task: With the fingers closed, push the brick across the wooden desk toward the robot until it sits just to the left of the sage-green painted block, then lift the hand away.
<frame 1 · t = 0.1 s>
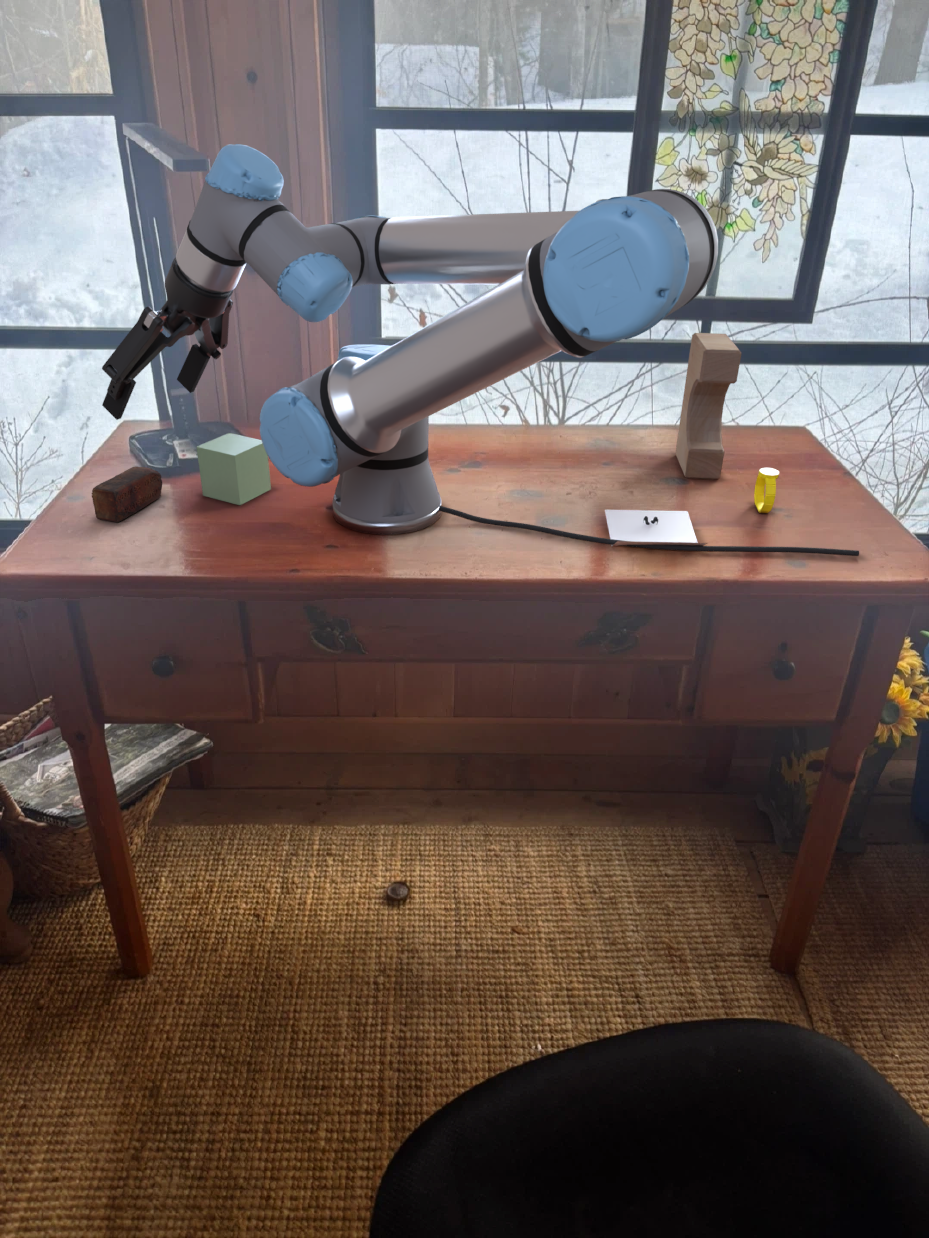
hand: (149, 398, 123), 15 cm above the table, tool tilted 35°, fingers open, 13 cm apart
watch: (761, 510, 133), on the table
green block: (237, 492, 135), on the table
brick: (131, 509, 129), on the table
decorative block: (696, 468, 148), on the table
folded paper: (651, 537, 125), on the table
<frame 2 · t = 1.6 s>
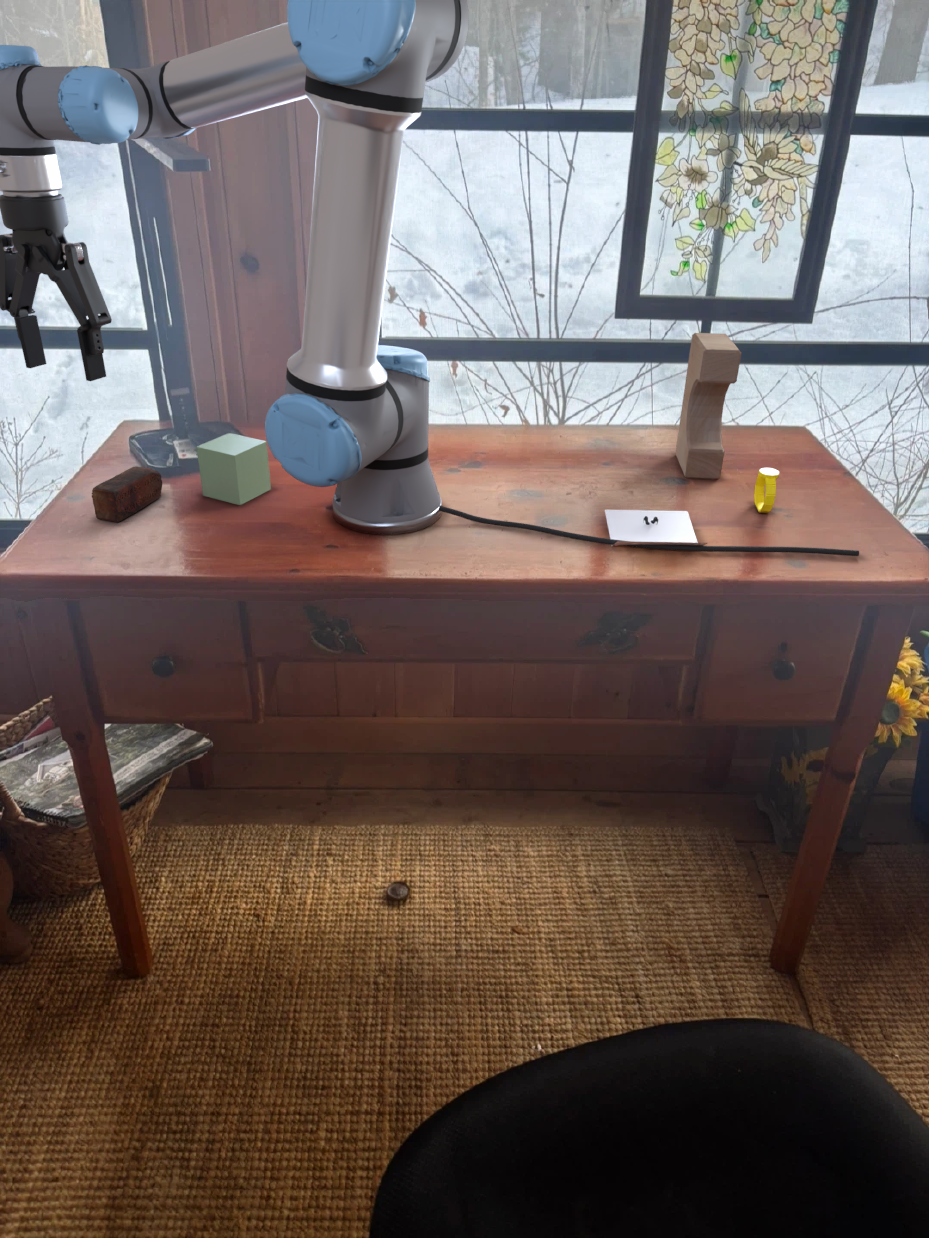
hand: (66, 372, 123), 18 cm above the table, tool pointing down, fingers open, 11 cm apart
nothing on the table moved.
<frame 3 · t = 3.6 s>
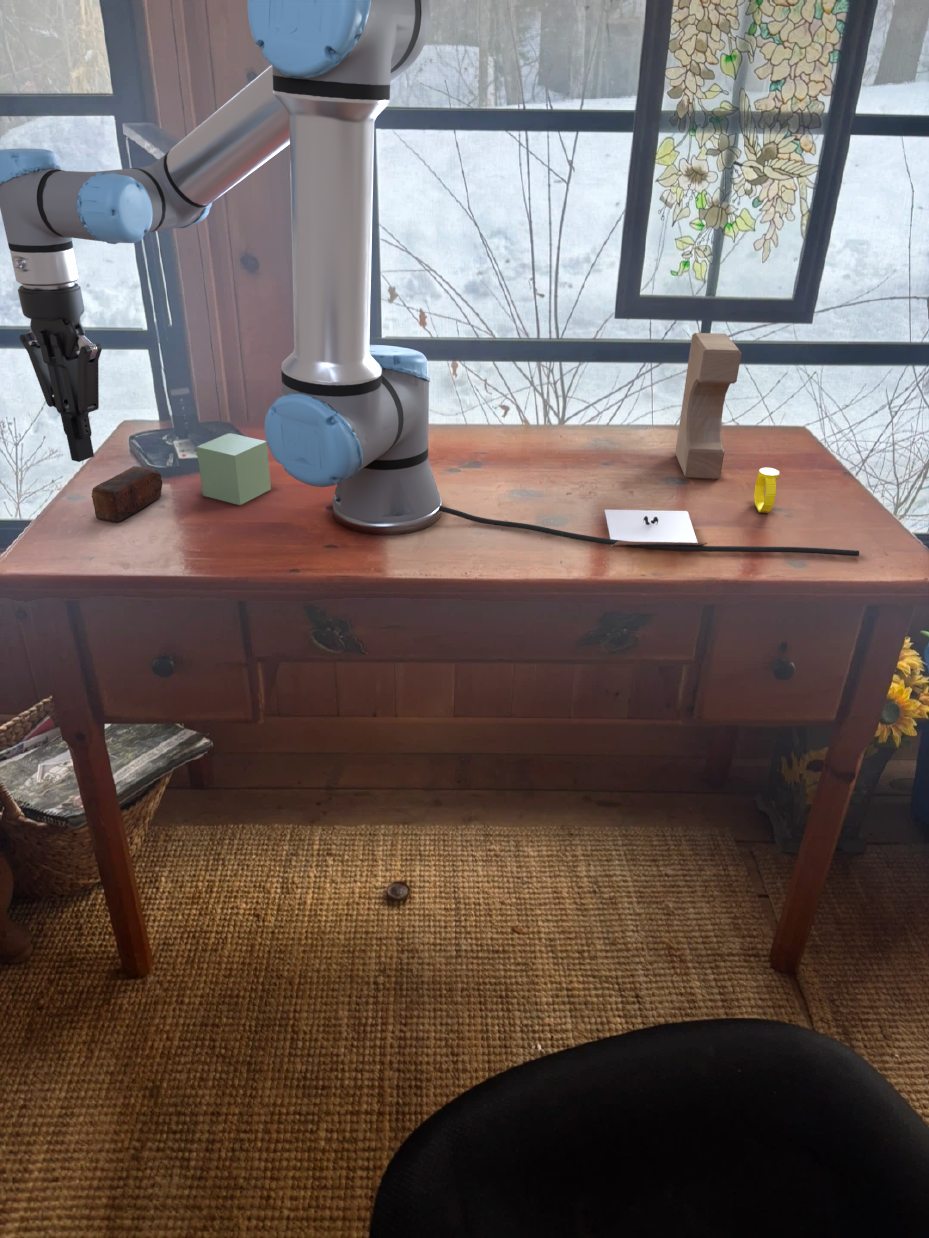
hand: (82, 458, 129), 6 cm above the table, tool pointing down, fingers closed
nothing on the table moved.
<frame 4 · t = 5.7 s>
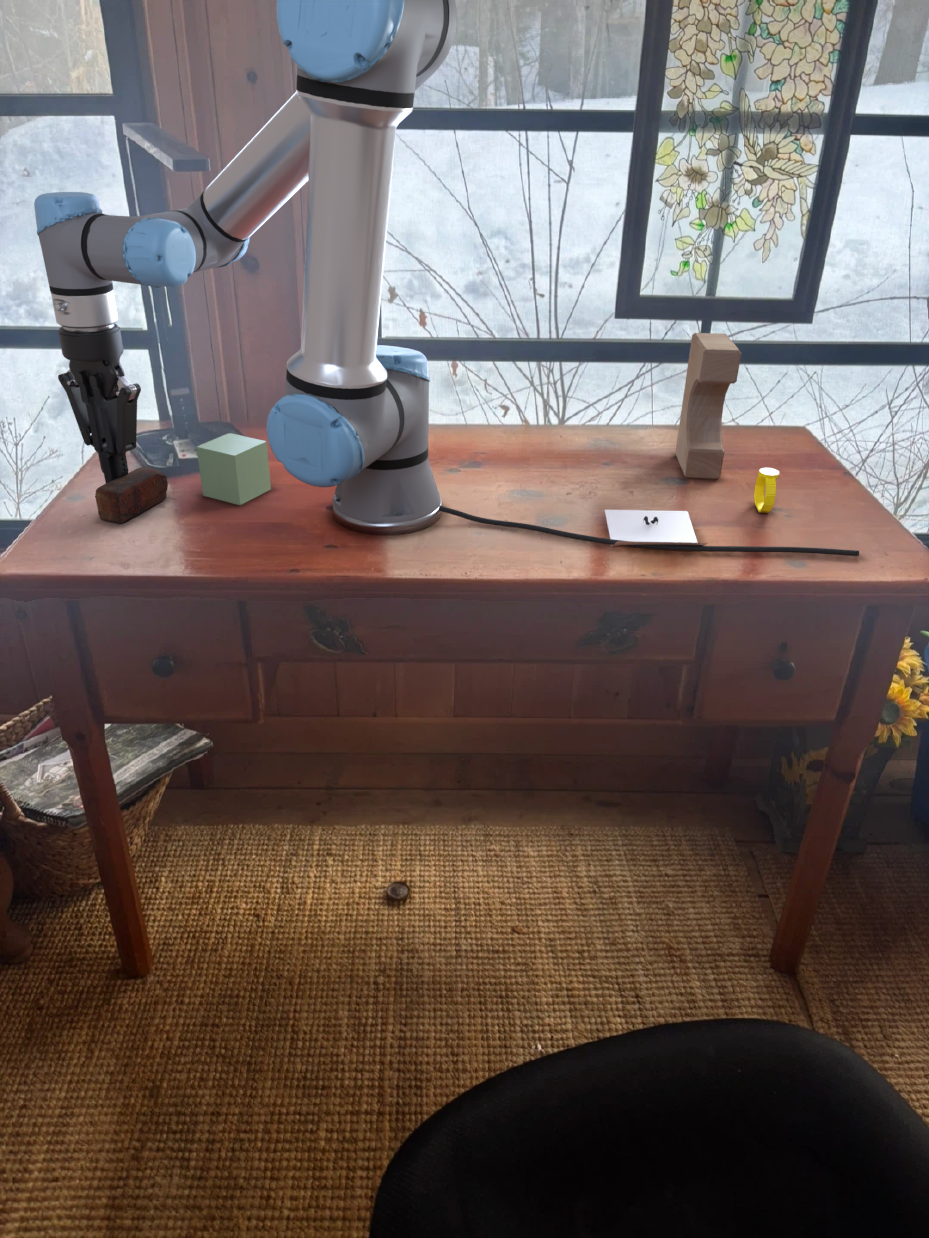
hand: (119, 495, 129), 1 cm above the table, tool pointing down, fingers closed
brick: (135, 510, 129), on the table, touching gripper
everything else where it was.
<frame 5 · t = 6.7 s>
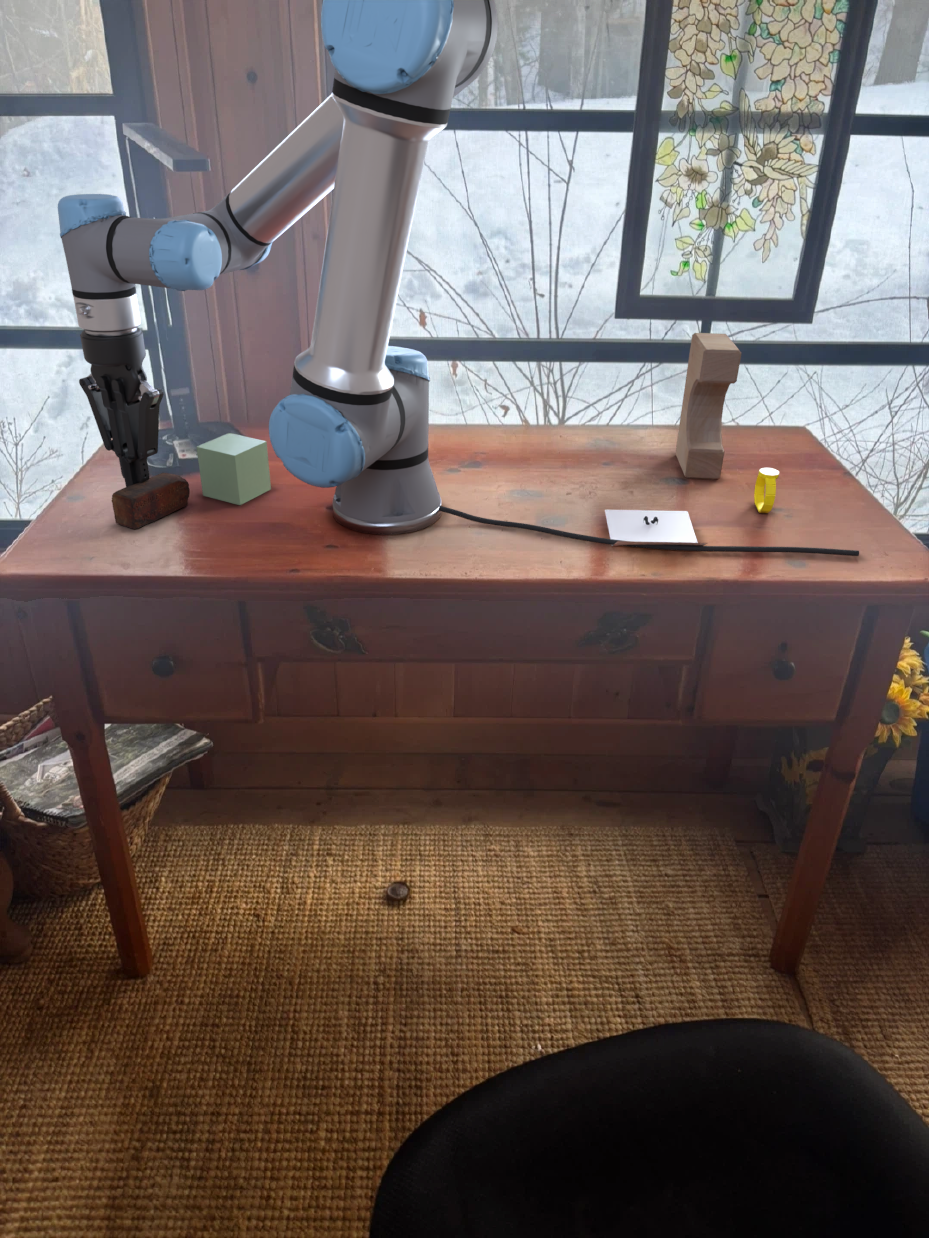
hand: (140, 501, 128), 1 cm above the table, tool pointing down, fingers closed
brick: (154, 516, 127), on the table, touching gripper
everything else where it was.
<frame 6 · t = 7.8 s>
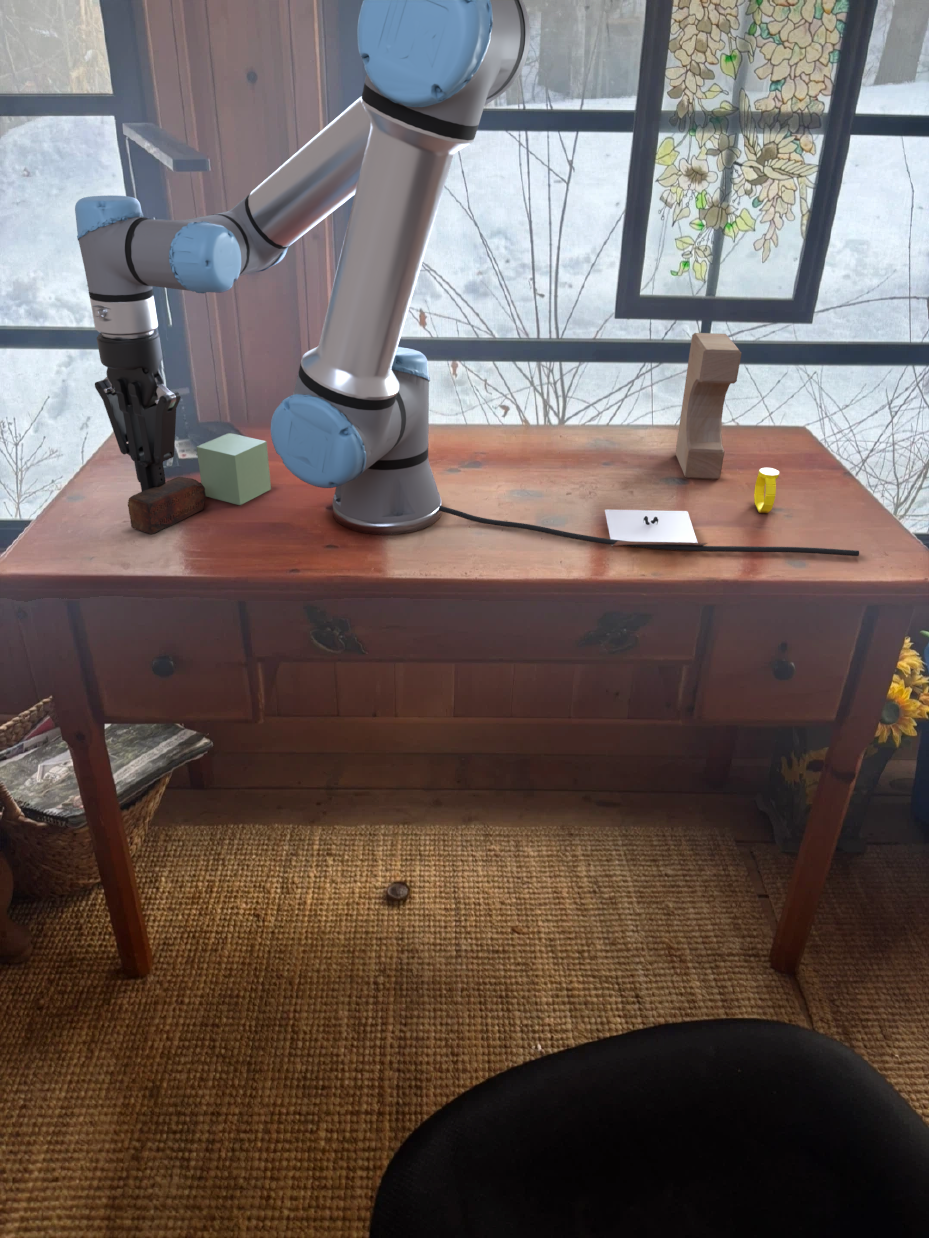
hand: (155, 505, 126), 1 cm above the table, tool pointing down, fingers closed
brick: (170, 520, 126), on the table, touching gripper
everything else where it was.
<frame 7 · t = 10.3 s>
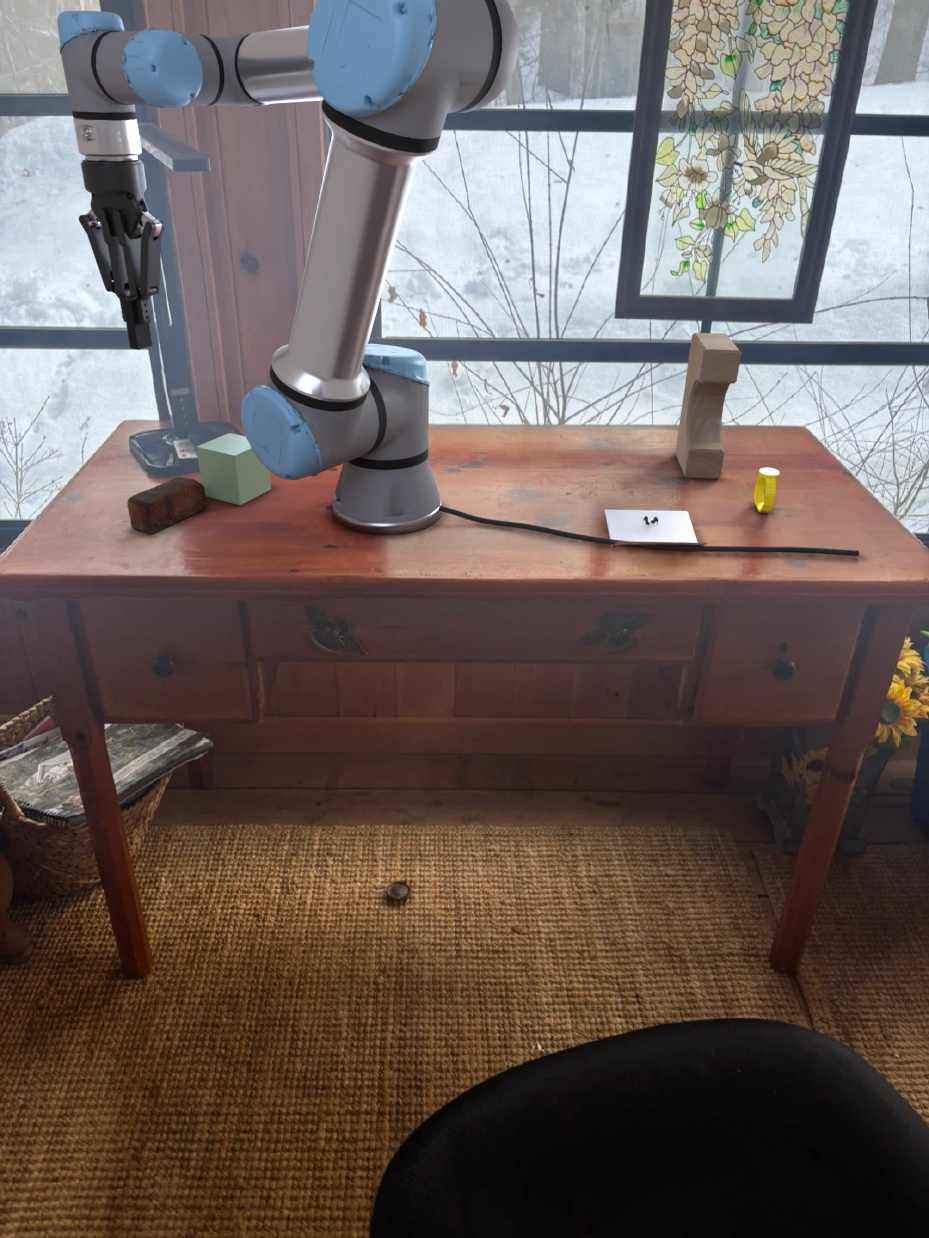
hand: (141, 346, 127), 20 cm above the table, tool pointing down, fingers closed
brick: (170, 520, 126), on the table
everything else where it was.
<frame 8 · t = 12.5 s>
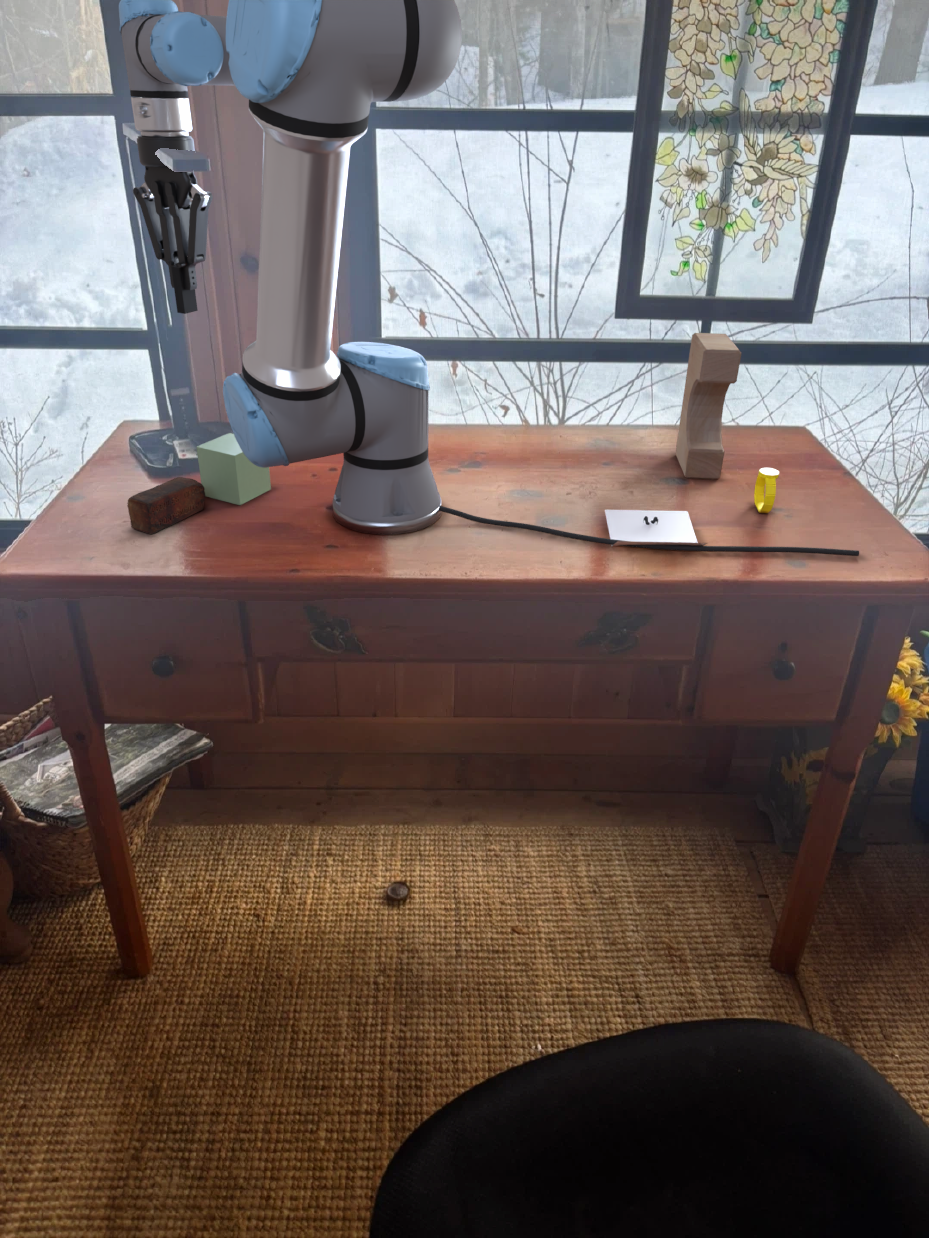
hand: (187, 311, 137), 22 cm above the table, tool pointing down, fingers closed
nothing on the table moved.
at the end: brick 1.6 cm from the target spot on the table beside the green block, on the table; brick tilted 0°; green block moved 0.0 cm from its start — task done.
